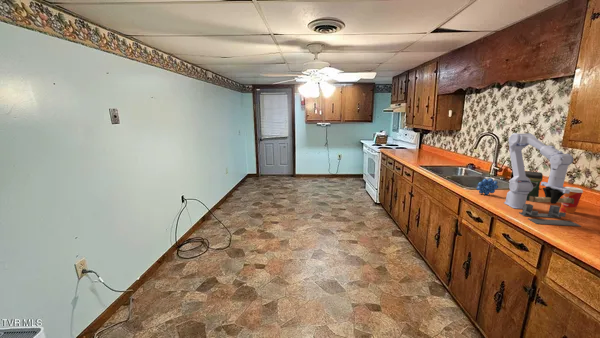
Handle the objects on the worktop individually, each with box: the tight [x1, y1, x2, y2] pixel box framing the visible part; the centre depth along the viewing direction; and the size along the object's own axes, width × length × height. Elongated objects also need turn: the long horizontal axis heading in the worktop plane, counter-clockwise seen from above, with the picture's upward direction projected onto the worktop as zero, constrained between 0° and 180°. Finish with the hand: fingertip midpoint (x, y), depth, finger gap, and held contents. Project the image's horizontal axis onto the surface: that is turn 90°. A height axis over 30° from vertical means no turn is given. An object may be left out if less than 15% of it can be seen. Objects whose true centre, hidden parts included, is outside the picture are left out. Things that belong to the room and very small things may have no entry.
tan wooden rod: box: [528, 196, 574, 204], centre depth 128 cm, size 19×3×3 cm, turn 83°
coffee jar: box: [525, 170, 544, 201], centre depth 160 cm, size 10×8×19 cm
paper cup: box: [560, 186, 584, 214], centre depth 140 cm, size 8×8×14 cm
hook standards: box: [518, 203, 567, 219], centre depth 133 cm, size 7×18×6 cm, turn 82°
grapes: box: [475, 177, 499, 196], centre depth 169 cm, size 12×7×12 cm, turn 56°
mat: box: [527, 218, 582, 228], centre depth 127 cm, size 6×20×1 cm, turn 82°
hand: (550, 202), depth 129 cm, fingers closed on tan wooden rod, 2 cm apart
